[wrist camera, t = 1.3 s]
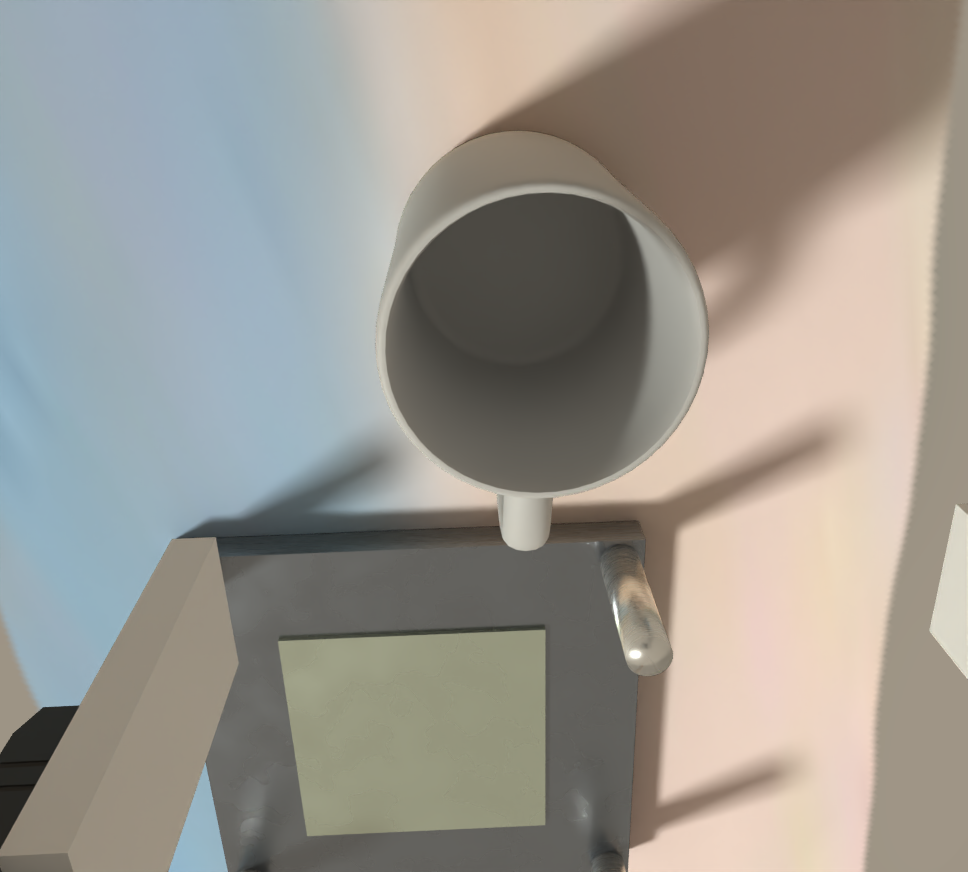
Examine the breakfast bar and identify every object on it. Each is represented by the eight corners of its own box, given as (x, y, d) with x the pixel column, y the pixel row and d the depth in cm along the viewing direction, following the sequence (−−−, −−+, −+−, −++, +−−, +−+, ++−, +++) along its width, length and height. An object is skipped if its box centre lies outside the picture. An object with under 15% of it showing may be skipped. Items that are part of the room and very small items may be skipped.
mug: (392, 127, 30) (363, 175, 20) (642, 129, 31) (735, 177, 21) (402, 448, 35) (382, 614, 25) (617, 447, 36) (682, 610, 26)
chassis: (174, 539, 37) (111, 656, 30) (638, 520, 37) (680, 631, 30) (240, 870, 44) (201, 1022, 38) (621, 852, 45) (652, 1000, 38)
